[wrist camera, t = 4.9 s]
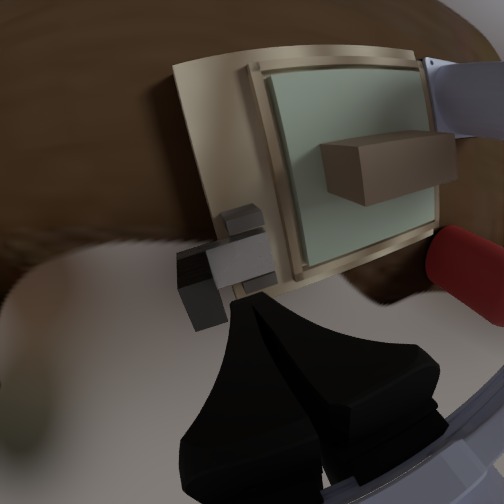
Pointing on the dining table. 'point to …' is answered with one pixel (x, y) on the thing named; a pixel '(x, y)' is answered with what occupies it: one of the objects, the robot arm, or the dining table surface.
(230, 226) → the picture frame
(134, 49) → the dining table surface
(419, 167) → the cover
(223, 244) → the latch bolt
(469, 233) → the beer can
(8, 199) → the dining table surface
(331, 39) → the dining table surface
